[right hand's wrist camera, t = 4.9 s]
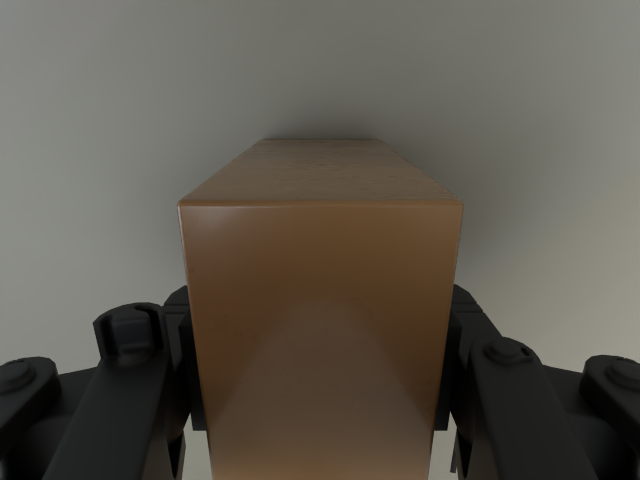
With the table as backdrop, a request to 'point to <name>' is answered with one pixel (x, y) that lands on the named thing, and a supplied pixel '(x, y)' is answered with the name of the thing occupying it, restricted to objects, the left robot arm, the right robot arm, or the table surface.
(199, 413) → the right robot arm
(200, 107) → the table surface
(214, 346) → the beam
